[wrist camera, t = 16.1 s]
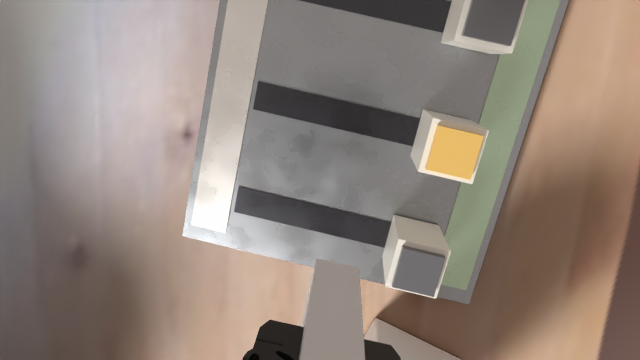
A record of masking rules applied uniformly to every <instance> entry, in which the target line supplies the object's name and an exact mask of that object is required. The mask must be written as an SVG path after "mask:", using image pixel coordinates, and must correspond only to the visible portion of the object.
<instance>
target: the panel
mask: <svg viewBox="0 0 640 360" xmlns="http://www.w3.org/2000/svg"><path fill="white" fill-rule="evenodd" d="M451 2H452V0H220V4H219V10H218V16H217V23H216V29H215V35H214V41H213V48H212V54H211V60H210V66H209V73H208V79H207V85H206V91H205V98H204V104H203V110H202V116H201V123H200V129H199V135H198V141H197V148H196V154H195V160H194V166H193V173H192V179H191V185H190V191H189V198H188V204H187V210H186V216H185V223H184V229H183V235H182V236H184V237H189V238H193V239H197V240H201V241H205V242H209V243H214V244H218V245H222V246H226V247H230V248H235V249H239V250H243V251H247V252H251V253H255V254H260V255H264V256H268V257H272V258H276V259H280V260H285V261H289V262H293V263H297V264H301V265H305V266H310V267H314V266H315V261H316V258H317V259H321V260H326V261H330V262H335V263H340V264H344V265H349V266H353V267H358V268H359V273H360V279H364V280H368V281H372V282H376V283H381V284H385V279H384V269H383V259H382V256H383V252H384V248H385V245H386V241H387V237H388V234H389V230H390V226H391V222H392V219H393V215H397V216H402V217H406V218H410V219H414V220H419V221H423V222H427V223H431V224H435V225H439V227H440V229H441V231H442V233H443V235H444V237H445V240H446V242H447V244H448V246H449V248H450V251H451V253H450V256H449V259H448V262H447V266H446V269H445V272H444V275H443V279H442V282H441V285H440V288H439V292H438V295H437V297H439V298H443V299H447V300H452V301H456V302H460V303H464V304H468V305H469V303H470V300H471V297H472V294H473V291H474V288H475V285H476V282H477V279H478V276H479V273H480V269H481V266H482V263H483V260H484V257H485V254H486V251H487V248H488V245H489V242H490V239H491V236H492V233H493V230H494V227H495V224H496V221H497V218H498V215H499V212H500V209H501V206H502V203H503V199H504V196H505V193H506V190H507V187H508V184H509V181H510V178H511V175H512V172H513V169H514V166H515V163H516V160H517V157H518V154H519V151H520V148H521V145H522V142H523V139H524V136H525V132H526V129H527V126H528V123H529V120H530V117H531V114H532V111H533V108H534V105H535V102H536V99H537V96H538V93H539V90H540V87H541V84H542V81H543V78H544V75H545V72H546V69H547V66H548V62H549V59H550V56H551V53H552V50H553V47H554V44H555V41H556V38H557V35H558V32H559V29H560V26H561V23H562V20H563V17H564V14H565V11H566V8H567V5H568V2H569V0H528V3H527V7H526V10H525V13H524V16H523V20H522V23H521V26H520V29H519V33H518V36H517V39H516V42H515V46H514V49H513V52H512V54H487V53H483V52H478V51H474V50H469V49H465V48H461V47H456V46H452V45H447V44H443V43H440V42H441V39H442V35H443V31H444V28H445V24H446V20H447V17H448V13H449V9H450V6H451ZM423 109H425V110H429V111H434V112H438V113H442V114H447V115H451V116H455V117H460V118H464V119H468V120H472V121H473V122H475V123H477V124H479V125H480V126H482V127H484V128H486V129H487V130H489V132H488V136H487V139H486V142H485V145H484V149H483V152H482V155H481V158H480V161H479V165H478V168H477V171H476V174H475V178H474V181H473V184H469V183H465V182H460V181H456V180H452V179H447V178H443V177H439V176H435V175H430V174H426V173H422V172H418V170H417V168H416V166H415V164H414V162H413V160H412V158H411V156H410V155H411V151H412V148H413V144H414V140H415V137H416V133H417V129H418V126H419V122H420V118H421V115H422V111H423Z"/></svg>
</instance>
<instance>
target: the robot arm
mask: <svg viewBox="0 0 640 360" xmlns="http://www.w3.org/2000/svg"><path fill="white" fill-rule="evenodd" d="M243 360H401V358H400V356H399V355H398V353H397V352H396V351H395V349H394V348H393V347H392V345H389V344H384V343H380V342H375V341H371V340H366V339H364V334H363V319H362V304H361V288H360V273H359V268H358V267H353V266H349V265H344V264H340V263H335V262H330V261H326V260H321V259H317V258H316V261H315V266H314V270H313V275H312V279H311V284H310V288H309V292H308V297H307V301H306V306H305V310H304V315H303V319H302V323H301V326H296V325H291V324H287V323H282V322H278V321H273V320H269V321H268V322H266V323H265V324H264V325H263V326H261V327H260V329H259V332H258V335H257V338H256V341H255V344H254V347H253V349H251V350H249V351H248V352H247V353H246V354H245V356H244V357H243Z"/></svg>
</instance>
